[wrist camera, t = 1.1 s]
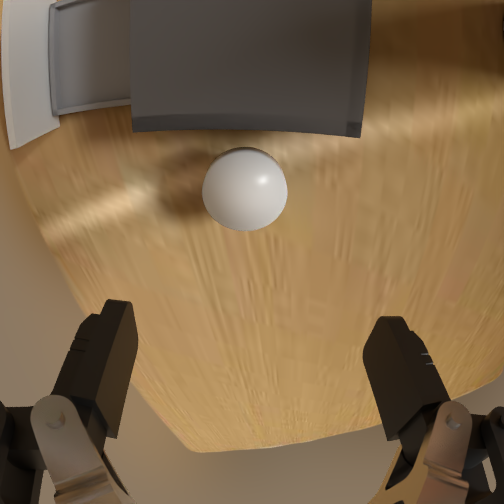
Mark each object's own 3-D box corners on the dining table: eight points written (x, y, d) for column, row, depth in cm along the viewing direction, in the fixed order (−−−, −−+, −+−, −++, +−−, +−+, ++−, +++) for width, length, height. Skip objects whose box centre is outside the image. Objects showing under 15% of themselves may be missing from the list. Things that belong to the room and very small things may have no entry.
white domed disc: (288, 148, 22) (290, 154, 21) (281, 222, 25) (283, 232, 24) (203, 146, 22) (200, 152, 20) (206, 220, 25) (203, 230, 24)
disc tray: (202, -36, 16) (187, -64, 10) (198, 113, 23) (182, 129, 18) (49, -3, 16) (4, -9, 10) (53, 127, 23) (10, 149, 17)
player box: (341, -25, 17) (371, -50, 11) (333, 118, 24) (360, 138, 18) (163, -30, 16) (135, -56, 10) (161, 114, 23) (132, 132, 18)
